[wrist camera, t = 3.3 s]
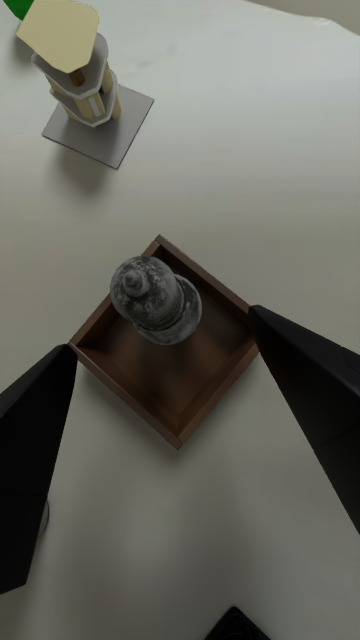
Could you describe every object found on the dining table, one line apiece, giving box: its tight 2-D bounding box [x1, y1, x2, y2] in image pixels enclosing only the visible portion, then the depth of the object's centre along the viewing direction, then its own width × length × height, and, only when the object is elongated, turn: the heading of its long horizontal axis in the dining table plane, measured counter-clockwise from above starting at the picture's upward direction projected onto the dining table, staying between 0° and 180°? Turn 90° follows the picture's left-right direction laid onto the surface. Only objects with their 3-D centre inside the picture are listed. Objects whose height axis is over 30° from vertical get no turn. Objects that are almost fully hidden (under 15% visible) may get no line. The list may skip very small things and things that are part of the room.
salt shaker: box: [110, 255, 202, 345], centre depth 11 cm, size 6×6×12 cm
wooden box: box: [67, 234, 259, 450], centre depth 15 cm, size 12×12×4 cm
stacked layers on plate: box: [16, 0, 154, 169], centre depth 16 cm, size 10×9×6 cm
